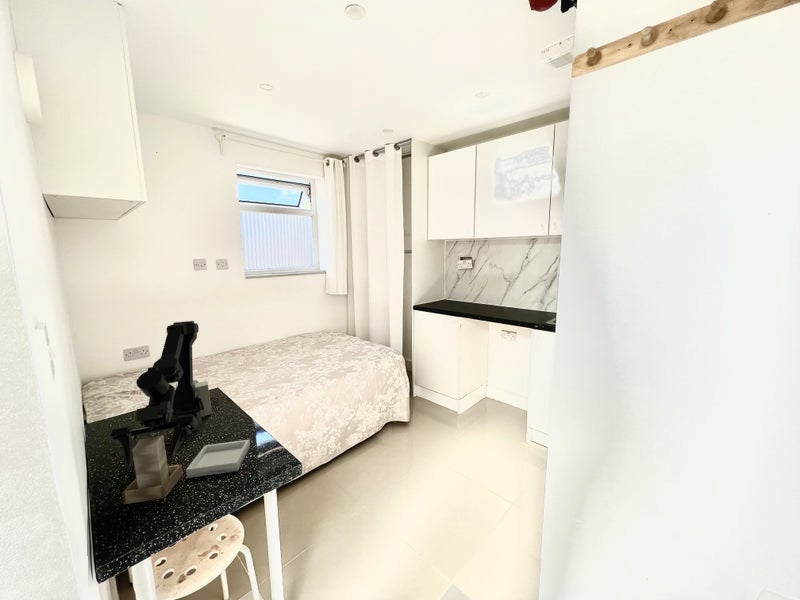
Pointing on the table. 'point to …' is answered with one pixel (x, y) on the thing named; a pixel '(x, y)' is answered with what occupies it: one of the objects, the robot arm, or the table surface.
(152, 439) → the maple block
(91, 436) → the table surface
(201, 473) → the white tray
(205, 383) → the skincare box
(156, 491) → the oak collar
